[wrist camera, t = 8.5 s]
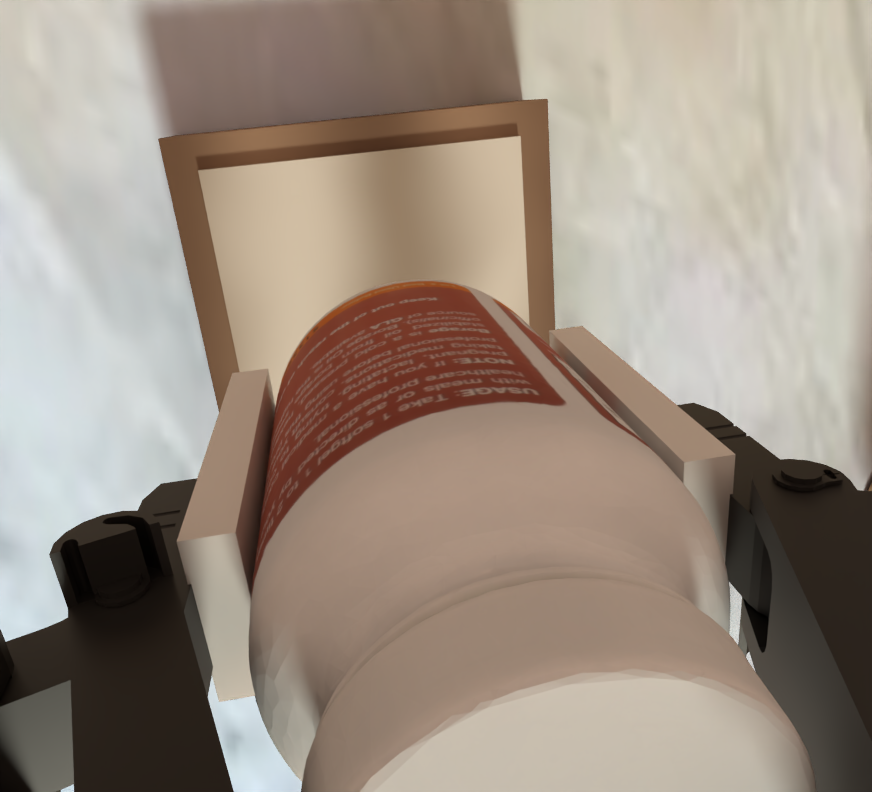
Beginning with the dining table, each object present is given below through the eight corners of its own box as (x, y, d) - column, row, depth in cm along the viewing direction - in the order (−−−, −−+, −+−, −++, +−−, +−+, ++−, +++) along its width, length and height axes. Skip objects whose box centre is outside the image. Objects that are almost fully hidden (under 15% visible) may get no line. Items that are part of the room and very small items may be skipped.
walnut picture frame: (244, 454, 29) (235, 493, 26) (176, 135, 25) (156, 139, 22) (536, 410, 30) (561, 444, 27) (523, 100, 26) (550, 98, 23)
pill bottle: (242, 487, 17) (114, 1086, 6) (328, 230, 15) (344, 490, 5) (488, 552, 18) (701, 1114, 8) (593, 327, 16) (1037, 677, 6)
